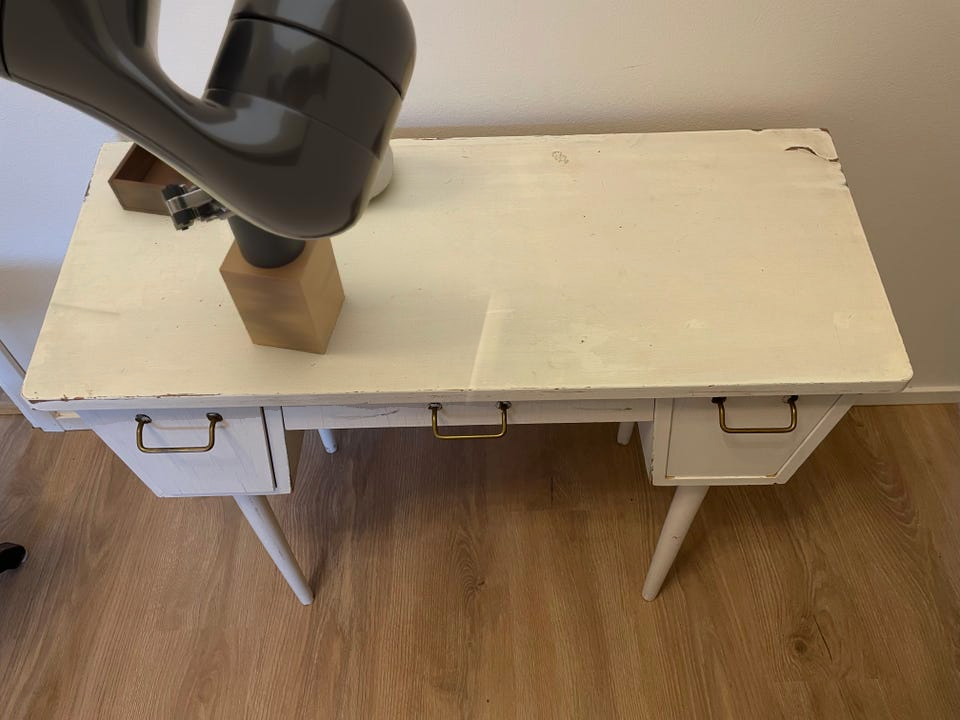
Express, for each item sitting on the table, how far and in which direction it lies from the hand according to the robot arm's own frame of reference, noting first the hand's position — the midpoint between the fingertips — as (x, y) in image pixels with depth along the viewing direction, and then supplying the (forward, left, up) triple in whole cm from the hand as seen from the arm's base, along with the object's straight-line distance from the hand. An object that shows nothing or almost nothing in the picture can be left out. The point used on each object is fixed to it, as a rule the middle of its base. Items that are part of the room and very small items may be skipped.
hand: (259, 188), depth 59 cm
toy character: (-3, +26, -23) cm, 35 cm away
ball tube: (-3, +4, -11) cm, 12 cm away
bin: (-25, +21, -23) cm, 40 cm away
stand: (-3, +4, -23) cm, 23 cm away
